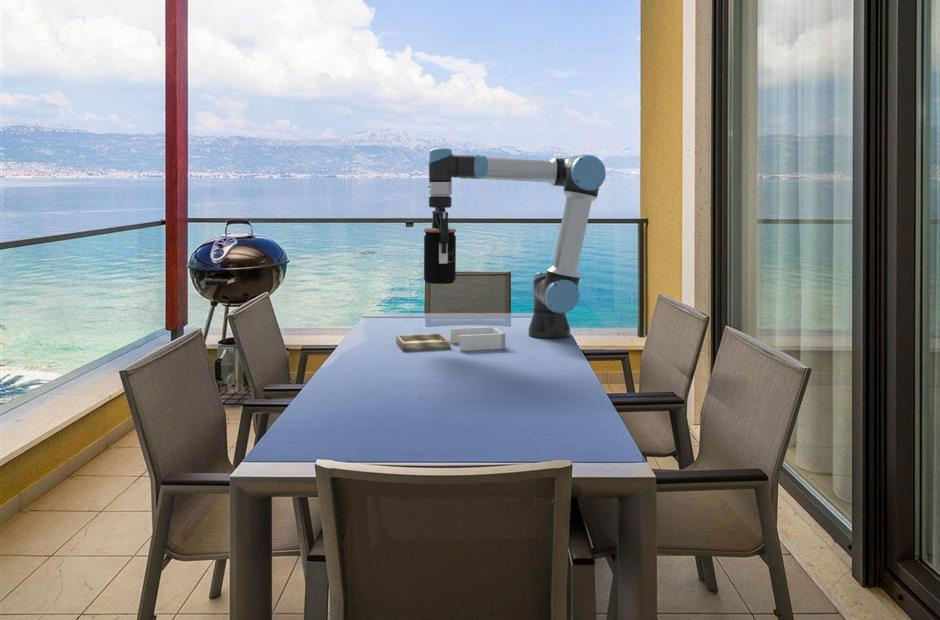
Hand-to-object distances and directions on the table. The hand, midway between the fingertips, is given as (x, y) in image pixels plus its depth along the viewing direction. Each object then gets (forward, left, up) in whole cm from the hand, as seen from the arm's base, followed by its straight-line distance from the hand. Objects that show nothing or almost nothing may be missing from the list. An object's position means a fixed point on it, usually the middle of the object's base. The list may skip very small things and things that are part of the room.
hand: (439, 261), depth 286 cm
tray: (+6, -2, -29) cm, 29 cm away
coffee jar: (0, 0, -7) cm, 7 cm away
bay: (-12, +3, -29) cm, 31 cm away
